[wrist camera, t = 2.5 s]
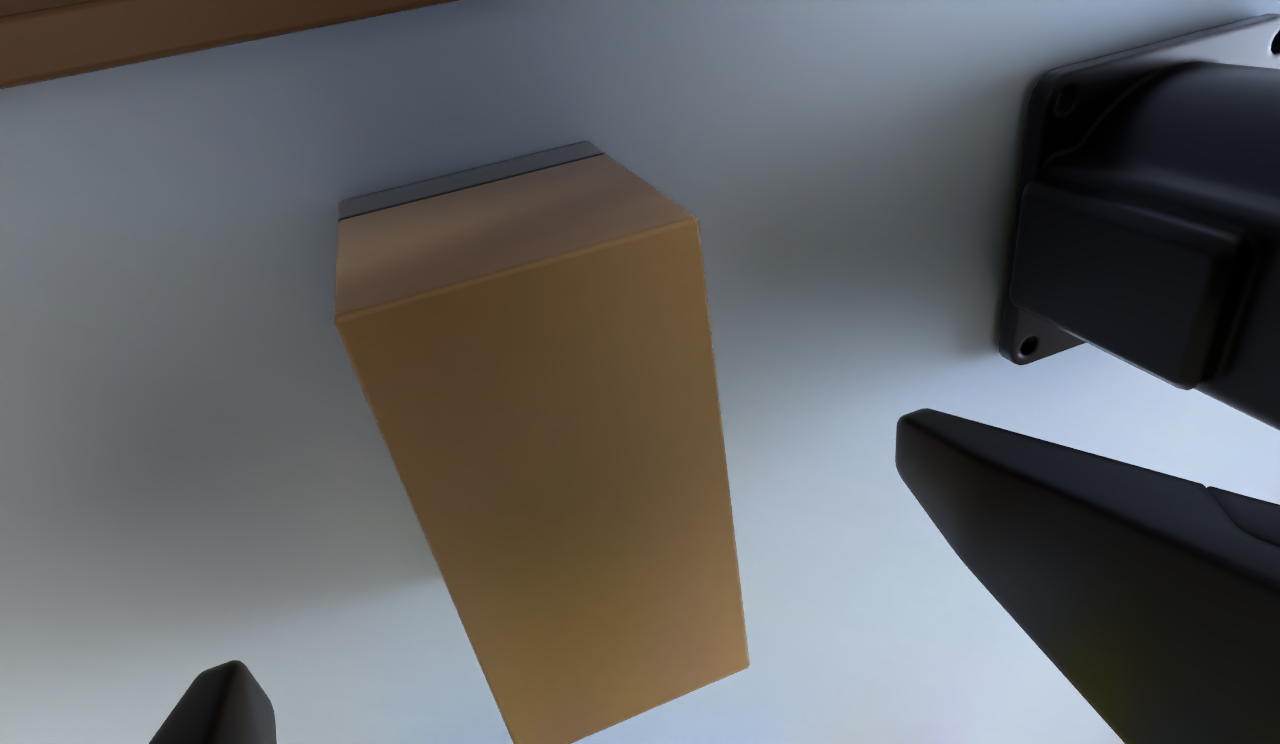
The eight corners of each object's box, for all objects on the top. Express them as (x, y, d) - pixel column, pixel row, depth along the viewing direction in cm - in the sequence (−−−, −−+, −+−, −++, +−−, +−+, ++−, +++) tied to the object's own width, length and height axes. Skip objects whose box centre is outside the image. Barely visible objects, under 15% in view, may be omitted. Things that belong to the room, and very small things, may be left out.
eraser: (588, 139, 12) (700, 217, 8) (657, 505, 16) (751, 667, 12) (337, 201, 11) (330, 319, 7) (479, 570, 15) (522, 766, 11)
